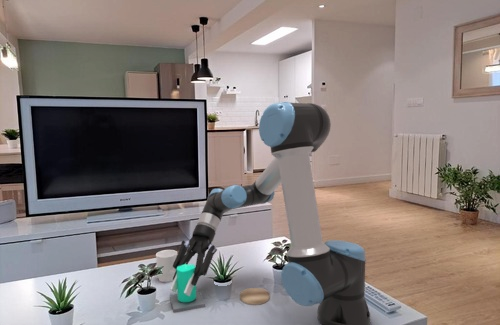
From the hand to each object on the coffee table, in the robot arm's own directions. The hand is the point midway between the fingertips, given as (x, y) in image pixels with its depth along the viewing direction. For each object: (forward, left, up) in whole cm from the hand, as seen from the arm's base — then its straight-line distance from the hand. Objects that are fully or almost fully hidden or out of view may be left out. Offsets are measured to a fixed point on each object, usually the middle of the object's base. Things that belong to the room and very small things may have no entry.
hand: (179, 292), depth 112 cm
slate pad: (+3, -3, -5) cm, 6 cm away
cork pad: (-2, -25, -5) cm, 25 cm away
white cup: (+24, +1, -5) cm, 24 cm away
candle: (+3, -3, -4) cm, 5 cm away
